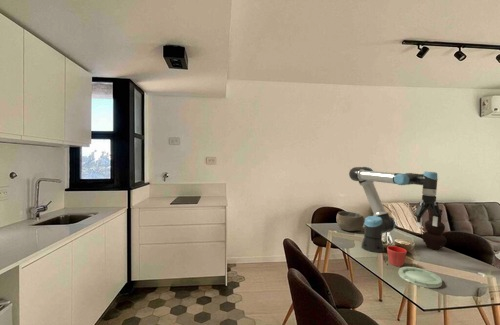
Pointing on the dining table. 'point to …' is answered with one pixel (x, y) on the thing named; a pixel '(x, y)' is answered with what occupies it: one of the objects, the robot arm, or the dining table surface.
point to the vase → (434, 233)
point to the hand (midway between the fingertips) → (427, 226)
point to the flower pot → (396, 255)
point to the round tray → (420, 277)
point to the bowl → (350, 221)
